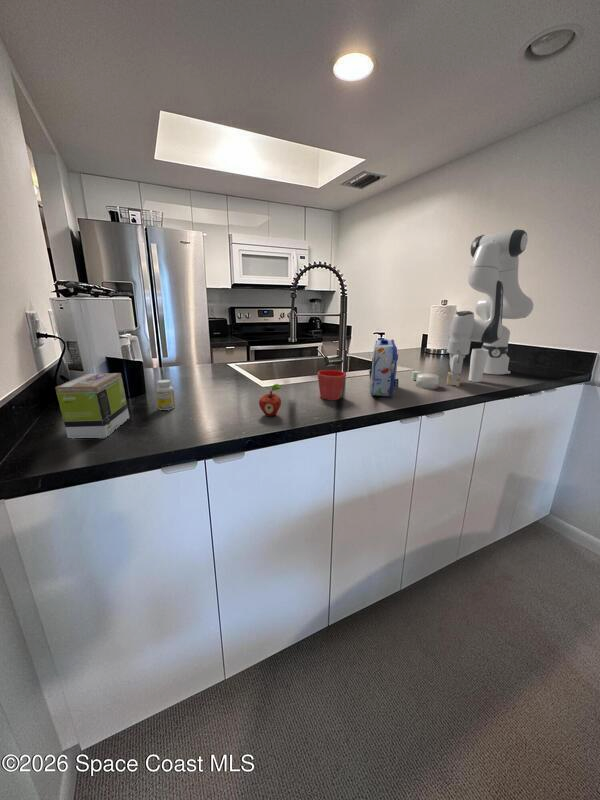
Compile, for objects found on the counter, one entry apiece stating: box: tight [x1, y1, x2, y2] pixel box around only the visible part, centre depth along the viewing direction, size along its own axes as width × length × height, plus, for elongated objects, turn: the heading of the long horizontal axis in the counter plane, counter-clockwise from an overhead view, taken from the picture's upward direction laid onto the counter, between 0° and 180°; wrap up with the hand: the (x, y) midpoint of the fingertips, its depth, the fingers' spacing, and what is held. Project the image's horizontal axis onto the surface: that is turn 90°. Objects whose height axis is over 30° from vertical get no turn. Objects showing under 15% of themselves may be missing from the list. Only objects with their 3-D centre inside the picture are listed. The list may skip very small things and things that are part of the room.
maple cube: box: [446, 371, 462, 387], centre depth 144 cm, size 5×5×5 cm
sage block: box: [410, 370, 423, 381], centre depth 151 cm, size 4×4×4 cm
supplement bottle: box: [155, 379, 176, 411], centre depth 106 cm, size 5×5×10 cm
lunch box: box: [369, 338, 399, 398], centre depth 128 cm, size 28×10×22 cm, turn 168°
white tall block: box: [468, 348, 489, 383], centre depth 148 cm, size 7×7×15 cm
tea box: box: [54, 372, 130, 439], centre depth 88 cm, size 15×10×15 cm, turn 5°
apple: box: [258, 383, 283, 417], centre depth 101 cm, size 8×7×10 cm
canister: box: [415, 372, 440, 390], centre depth 140 cm, size 9×9×5 cm
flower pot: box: [317, 369, 347, 401], centre depth 121 cm, size 11×11×10 cm
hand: (453, 379), depth 144 cm, fingers open, 8 cm apart
